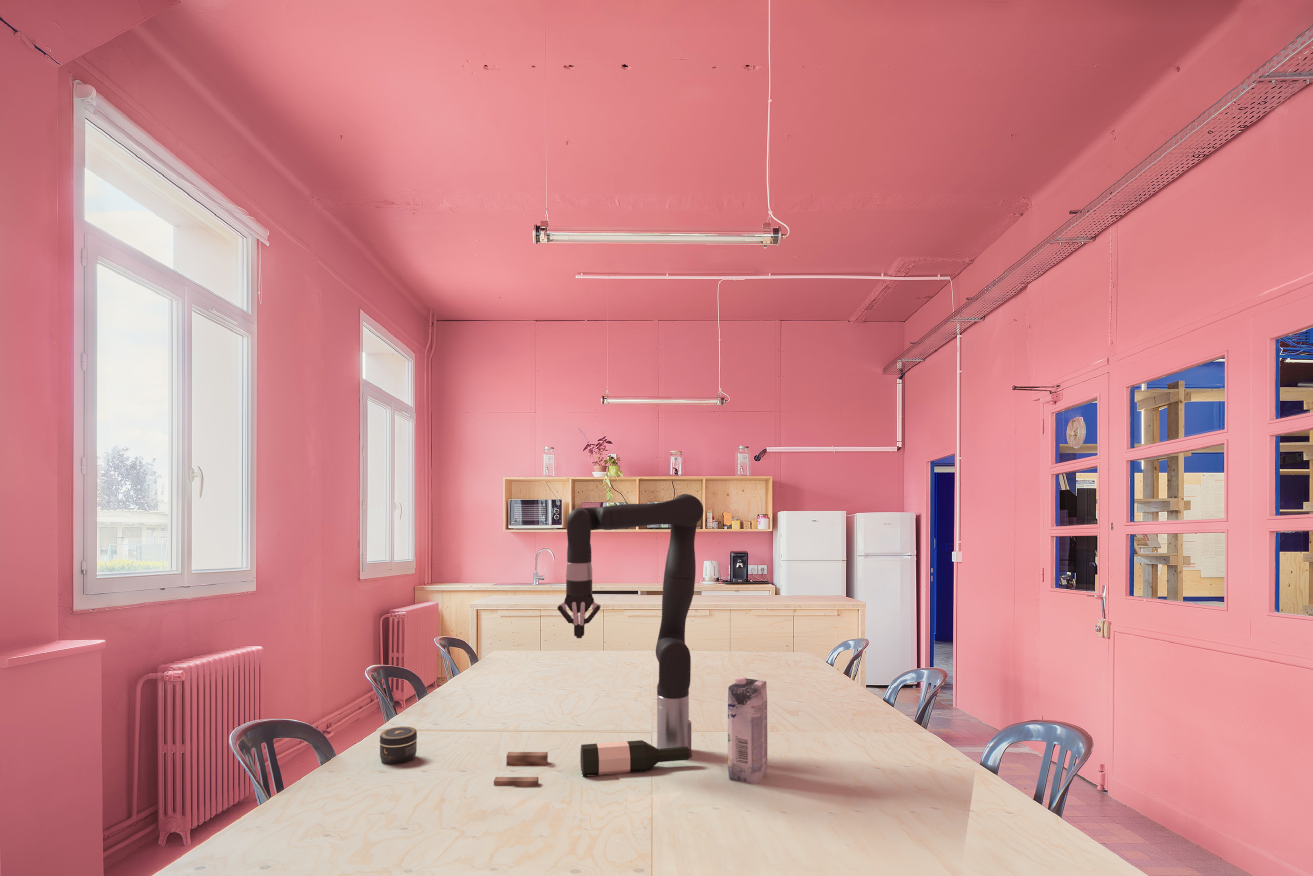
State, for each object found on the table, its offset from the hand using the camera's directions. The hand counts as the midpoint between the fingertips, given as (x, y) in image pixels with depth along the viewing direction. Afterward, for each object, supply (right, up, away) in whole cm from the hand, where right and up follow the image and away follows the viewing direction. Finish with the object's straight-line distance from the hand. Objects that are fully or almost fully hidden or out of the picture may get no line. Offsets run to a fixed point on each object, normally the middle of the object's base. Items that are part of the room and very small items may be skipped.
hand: (579, 637), depth 218 cm
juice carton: (+46, -33, -20) cm, 60 cm away
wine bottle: (+2, -29, -17) cm, 33 cm away
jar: (-51, -33, -5) cm, 61 cm away
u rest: (-14, -33, -17) cm, 39 cm away
